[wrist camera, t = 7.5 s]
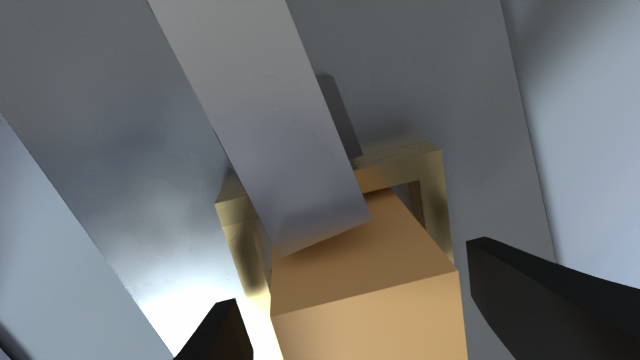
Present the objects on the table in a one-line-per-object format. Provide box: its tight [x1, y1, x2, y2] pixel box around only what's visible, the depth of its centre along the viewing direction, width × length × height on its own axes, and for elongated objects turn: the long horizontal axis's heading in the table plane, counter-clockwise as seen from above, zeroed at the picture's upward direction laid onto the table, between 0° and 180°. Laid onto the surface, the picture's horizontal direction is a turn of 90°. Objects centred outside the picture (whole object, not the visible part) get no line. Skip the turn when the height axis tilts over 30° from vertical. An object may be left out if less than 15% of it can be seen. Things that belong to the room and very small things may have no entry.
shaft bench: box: [0, 0, 556, 360], centre depth 12 cm, size 15×26×5 cm, turn 22°
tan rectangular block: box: [270, 187, 468, 360], centre depth 11 cm, size 4×4×6 cm
